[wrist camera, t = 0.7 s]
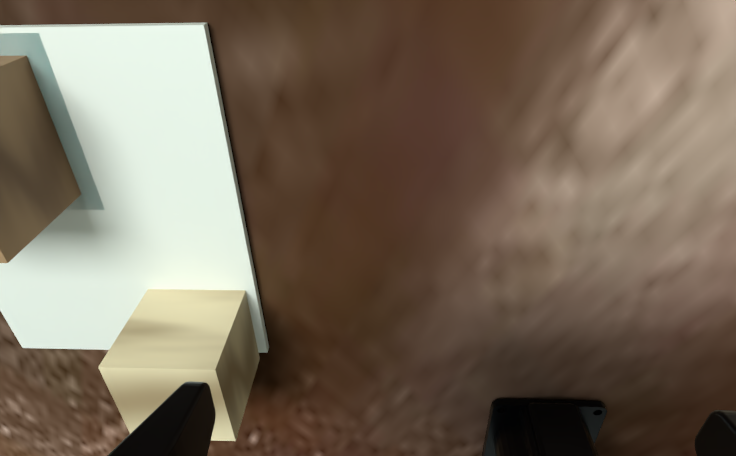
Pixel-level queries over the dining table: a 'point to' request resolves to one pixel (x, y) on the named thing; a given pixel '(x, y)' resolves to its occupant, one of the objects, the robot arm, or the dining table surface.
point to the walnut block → (28, 160)
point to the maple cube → (184, 354)
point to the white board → (128, 182)
